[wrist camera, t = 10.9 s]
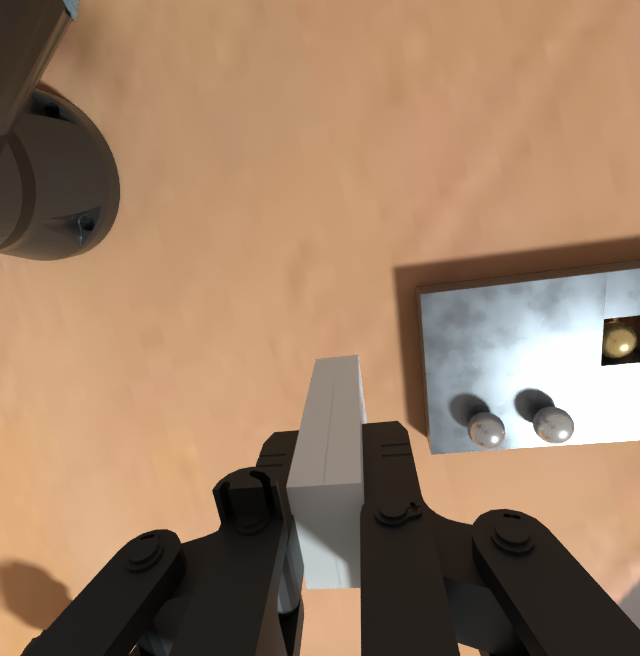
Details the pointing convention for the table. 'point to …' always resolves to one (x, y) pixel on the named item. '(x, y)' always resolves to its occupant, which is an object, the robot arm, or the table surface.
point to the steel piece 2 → (553, 425)
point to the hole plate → (529, 355)
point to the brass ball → (618, 339)
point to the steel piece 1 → (486, 430)
